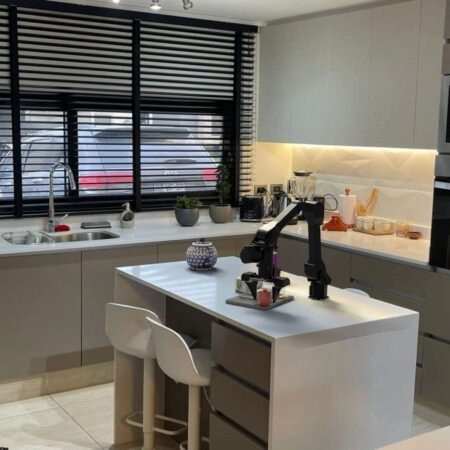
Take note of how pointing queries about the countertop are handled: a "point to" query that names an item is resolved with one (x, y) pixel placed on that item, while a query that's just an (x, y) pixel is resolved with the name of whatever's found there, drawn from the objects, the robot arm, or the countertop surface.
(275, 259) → the beverage can
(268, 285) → the breaker
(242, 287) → the syrup box
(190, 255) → the teapot
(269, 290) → the block
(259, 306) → the panel
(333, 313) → the countertop surface
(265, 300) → the lockout cap
